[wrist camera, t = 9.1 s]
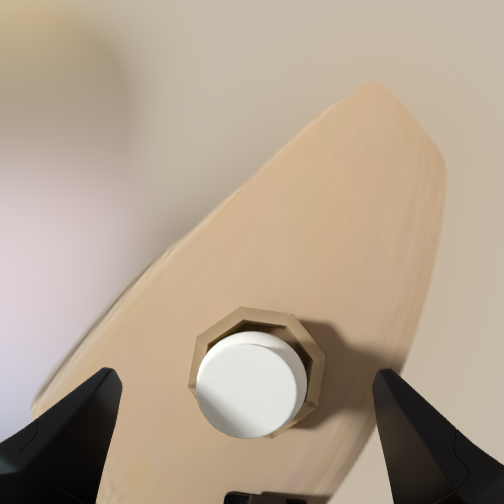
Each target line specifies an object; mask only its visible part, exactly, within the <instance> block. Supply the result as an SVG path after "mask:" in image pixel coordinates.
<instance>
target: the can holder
mask: <svg viewBox="0 0 504 504" xmlns="http://www.w3.org/2000/svg"><path fill="white" fill-rule="evenodd" d="M242 332H262V333H267V334H270V335H273V336H275V337H277V338H279V339H281V340H283V341H284V342H285V343H287V344H288V345H289V346H290V347H291V348H292V349H293V350H294V351H295V352H296V353H297V355H298V356H299V358H300V360H301V362H302V363H303V366H304V369H305V372H306V378H307V390H306V395H305V399H304V402H303V404H302V406H301V408H300V410H299V411H298V413H297V414H296V415H295V417H294V418H293V419H292V420H291V421H290V422H289V423H287V424H286V425H285V426H283V427H281V428H279V429H278V430H276V431H274V432H272V433H271V434H268V435H266V436H263V437H266V438H274V437H276V436H277V435H279V434H280V433H282V432H284V431H285V430H287V429H288V428H290V427H291V426H293V425H294V424H296V423H297V422H298V421H300V420H301V419H303V418H304V417H306V416H307V415H309V414H310V413H311V412H313V411H314V410H315V409H317V408H318V403H319V397H320V392H321V386H322V380H323V374H324V367H325V360H326V355H325V354H324V353H323V351H322V350H321V349H320V347H319V346H318V345H317V344H316V342H315V341H314V340H313V338H312V337H311V336H310V335H309V333H308V332H307V331H306V329H305V328H304V327H303V326H302V324H301V323H300V322H299V320H298V319H297V318H296V317H295V315H294V314H289V313H281V312H274V311H267V310H260V309H253V308H246V307H239V308H237V309H236V310H235V311H233V312H232V313H230V314H229V315H227V316H226V317H225V318H223V319H222V320H220V321H219V322H217V323H216V324H215V325H213V326H212V327H210V328H209V329H207V330H206V331H204V332H203V333H201V334H200V335H199V336H197V339H196V344H195V349H194V355H193V361H192V366H191V372H190V378H189V384H188V388H189V389H190V391H191V392H192V394H193V395H194V396H195V398H196V399H197V397H196V384H197V376H198V371H199V368H200V365H201V363H202V361H203V359H204V357H205V356H206V354H207V353H208V352H209V350H210V349H211V348H212V347H213V346H214V345H216V344H217V343H218V342H220V341H221V340H223V339H224V338H227V337H229V336H231V335H234V334H237V333H242Z"/></svg>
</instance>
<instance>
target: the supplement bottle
mask: <svg viewBox="0 0 504 504" xmlns="http://www.w3.org/2000/svg"><path fill="white" fill-rule="evenodd" d="M306 390H307V378H306V372H305V369H304V366H303V363H302V362H301V360H300V358H299V356H298V355H297V353H296V352H295V351H294V350H293V349H292V348H291V347H290V346H289V345H288V344H287V343H285V342H284V341H283V340H281V339H279V338H277V337H275V336H273V335H270V334H267V333H262V332H242V333H237V334H234V335H231V336H229V337H227V338H224V339H223V340H221V341H220V342H218V343H217V344H216V345H214V346H213V347H212V348H211V349H210V350H209V352H208V353H207V354H206V356H205V357H204V359H203V361H202V363H201V365H200V368H199V371H198V376H197V384H196V397H197V402H198V405H199V408H200V410H201V412H202V414H203V415H204V417H205V418H206V419H207V421H208V422H209V423H210V424H211V425H212V426H213V427H215V428H216V429H217V430H219V431H221V432H222V433H224V434H227V435H229V436H233V437H236V438H243V439H252V438H259V437H263V436H266V435H268V434H271V433H272V432H274V431H276V430H278V429H279V428H281V427H283V426H285V425H286V424H287V423H289V422H290V421H291V420H292V419H293V418H294V417H295V415H296V414H297V413H298V411H299V410H300V408H301V406H302V404H303V402H304V399H305V395H306Z"/></svg>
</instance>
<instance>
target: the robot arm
mask: <svg viewBox="0 0 504 504" xmlns="http://www.w3.org/2000/svg"><path fill="white" fill-rule="evenodd" d="M372 391H373V397H374V404H375V412H376V420H377V427H378V432H379V436H380V440H381V444H382V449H383V453H384V457H385V462H386V466H387V471H388V476H389V481H390V486H391V491H392V496H393V501H394V504H504V465H503V464H501V463H499V462H498V461H497V460H495V459H494V458H493V457H491V456H489V455H488V454H487V453H485V452H484V451H483V450H481V449H480V448H479V447H477V446H476V445H475V444H473V443H472V442H471V441H470V440H469V439H468V438H466V437H465V436H464V435H463V434H462V433H461V432H460V431H459V430H458V429H456V428H455V427H454V426H453V425H452V424H451V423H450V422H449V421H448V420H447V419H446V418H445V417H444V416H443V415H441V414H440V413H439V412H438V411H437V410H436V409H435V408H434V407H433V406H432V405H430V403H428V402H427V401H426V400H425V399H424V398H423V397H422V396H420V394H419V393H417V392H416V391H415V390H414V389H413V388H412V387H411V386H410V385H409V384H408V383H407V382H406V381H404V380H403V379H402V378H401V377H400V376H399V375H398V374H397V373H396V372H395V371H394V370H392V369H391V368H383V369H379V370H378V372H377V374H376V377H375V380H374V382H373V386H372ZM121 393H122V382H121V380H120V379H119V377H118V375H117V373H116V371H115V370H114V369H112V368H107V367H104V368H102V369H100V370H99V371H98V372H97V373H95V374H94V375H93V376H91V377H90V378H89V379H87V380H86V381H85V382H84V383H82V384H81V385H80V386H78V387H77V388H76V389H74V390H73V391H72V392H71V393H69V394H68V395H67V396H65V397H64V398H63V399H61V400H60V401H59V402H58V403H56V404H55V405H54V406H52V407H51V408H50V409H49V410H47V411H46V412H45V413H43V414H42V415H41V416H39V417H38V418H37V419H35V420H34V421H33V422H32V423H30V424H29V425H28V426H26V427H25V428H24V429H22V430H20V431H19V432H17V433H16V434H14V435H13V436H11V437H9V438H8V439H6V440H4V441H3V442H1V443H0V504H95V503H96V498H97V494H98V489H99V485H100V481H101V476H102V472H103V468H104V464H105V460H106V457H107V453H108V449H109V445H110V442H111V438H112V435H113V431H114V428H115V424H116V420H117V414H118V409H119V403H120V398H121ZM229 496H233V497H234V498H233V499H231V498H229ZM223 504H307V502H306V501H305V500H295V499H285V498H283V497H273V496H264V495H256V494H252V495H248V494H242V493H236V492H228V493H226V495H225V498H224V503H223Z"/></svg>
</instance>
